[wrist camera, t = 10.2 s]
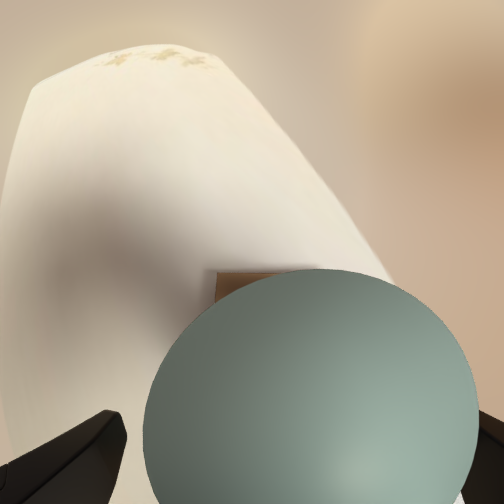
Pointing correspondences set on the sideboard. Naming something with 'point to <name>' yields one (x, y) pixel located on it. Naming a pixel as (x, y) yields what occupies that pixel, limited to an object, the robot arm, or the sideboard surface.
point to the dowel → (312, 399)
